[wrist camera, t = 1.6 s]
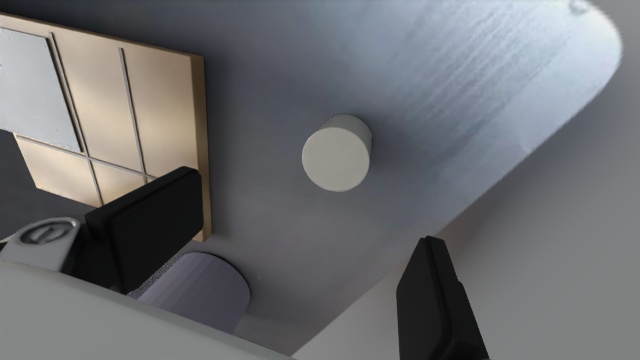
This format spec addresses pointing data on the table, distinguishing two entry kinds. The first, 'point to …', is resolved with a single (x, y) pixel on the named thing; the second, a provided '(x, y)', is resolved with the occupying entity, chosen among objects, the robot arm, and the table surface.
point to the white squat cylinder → (338, 153)
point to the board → (101, 110)
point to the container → (201, 291)
